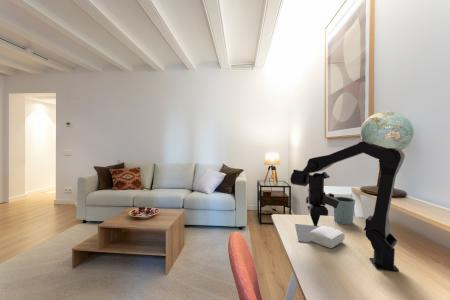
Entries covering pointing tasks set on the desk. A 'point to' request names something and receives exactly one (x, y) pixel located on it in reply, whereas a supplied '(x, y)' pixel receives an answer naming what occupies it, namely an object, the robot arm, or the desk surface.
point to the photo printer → (326, 236)
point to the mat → (304, 232)
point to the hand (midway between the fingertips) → (315, 225)
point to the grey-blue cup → (344, 210)
